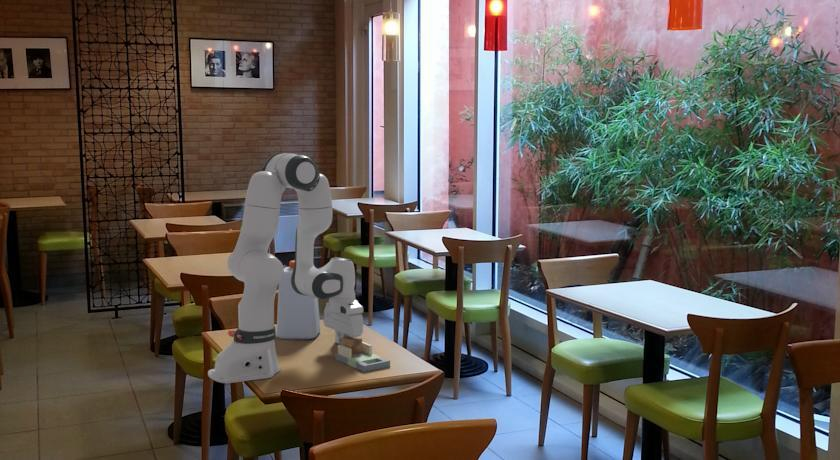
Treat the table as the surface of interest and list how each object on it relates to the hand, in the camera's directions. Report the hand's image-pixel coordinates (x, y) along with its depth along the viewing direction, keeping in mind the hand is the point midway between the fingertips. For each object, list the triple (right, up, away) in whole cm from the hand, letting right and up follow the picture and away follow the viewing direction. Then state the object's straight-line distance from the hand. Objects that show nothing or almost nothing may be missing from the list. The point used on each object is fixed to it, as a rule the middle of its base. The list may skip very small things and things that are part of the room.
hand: (342, 344), depth 285 cm
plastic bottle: (-19, 0, +26) cm, 32 cm away
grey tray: (+7, -5, -9) cm, 13 cm away
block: (+4, -2, -4) cm, 6 cm away
